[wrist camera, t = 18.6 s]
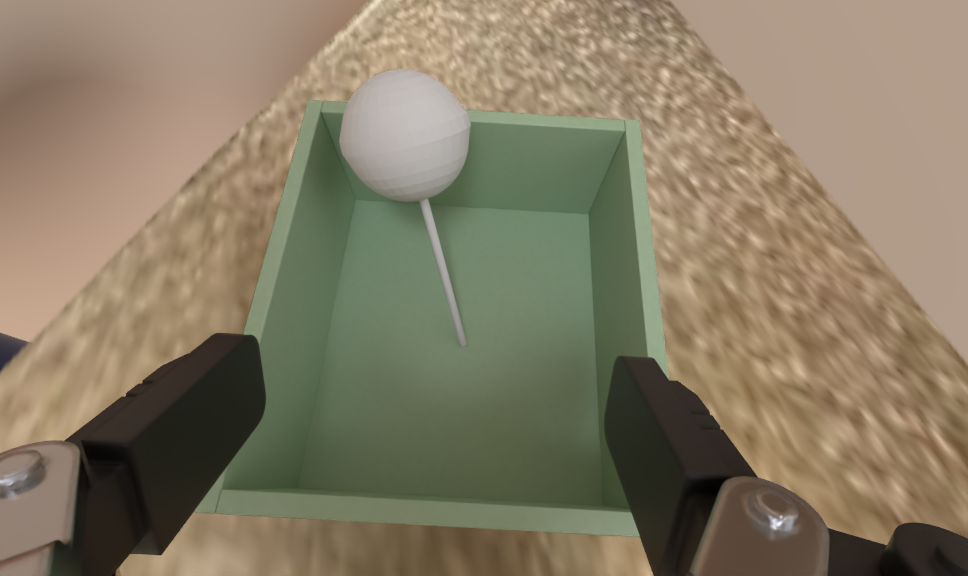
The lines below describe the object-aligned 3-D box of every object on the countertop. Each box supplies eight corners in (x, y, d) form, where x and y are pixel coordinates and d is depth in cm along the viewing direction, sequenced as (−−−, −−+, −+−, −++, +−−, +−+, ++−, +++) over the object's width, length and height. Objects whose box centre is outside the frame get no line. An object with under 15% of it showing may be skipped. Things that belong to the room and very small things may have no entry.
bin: (286, 503, 24) (192, 512, 16) (349, 198, 32) (307, 98, 24) (613, 521, 24) (688, 540, 16) (595, 213, 32) (639, 120, 24)
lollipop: (400, 381, 25) (292, 92, 18) (426, 321, 30) (350, 78, 23) (510, 373, 24) (440, 58, 17) (518, 312, 29) (466, 51, 22)
